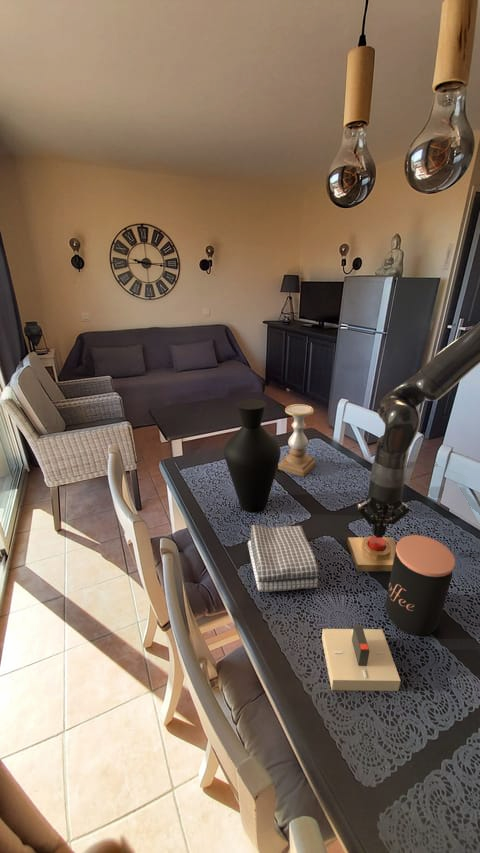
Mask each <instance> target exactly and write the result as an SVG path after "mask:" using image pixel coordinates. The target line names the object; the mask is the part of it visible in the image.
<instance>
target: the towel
mask: <svg viewBox="0 0 480 853" xmlns="http://www.w3.org/2000/svg"><path fill="white" fill-rule="evenodd" d="M250 531H251V532H250V540H248V541H247V549H248V551H249V557H250V562H251V567H252V571H253V577H254V581H255V584H256V587H257V590H258V592H267V593H268V592H282V591H293V590H299V589H300V590H302V589H304V590H305V589H317V588H318V587H319V586H318V582H319V579H318V578H319V577H320V570H319V565H318V561H317V558H316V556H315V554H314V550H313V548H312V546H311V544H310V542H309V541H308V538H307V536H306V533H305V531H304V530H303V526H302V525H286V526H277V527H266V526H264V525H259V524H252V525H251V526H250Z"/></svg>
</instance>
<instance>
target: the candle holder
mask: <svg viewBox="0 0 480 853" xmlns="http://www.w3.org/2000/svg"><path fill="white" fill-rule="evenodd" d="M314 411H315V409H314V407H312V406H311V405H309V404H302V403H295V404H290V405H288V406H285V408H284V412H285V413H286V414H287V415H289V416H291V417H292V418H293V422H292V423H291V427H292V429H293V433H292V434H291V435H290V436H289V438H288V441H287V443H288V446H289V447H290V448H289V453H288V454H287V455H286V456H284V457H283V459H281V461H280V462H279V463H278V466H277V470H280V471H282V472H286V473H289V474H292V475H296V476H299V477H302V478H304V477H306V475H308V474H309V472H310V471H312V470H313V468H314V467H315V466H316V464H317V460H315V458H314V457H313V456H311V455H308V454H306V453H307V450H306V448H307V447H308V445H309V440H308V437H307V436H306V435H305V433H304V431H305V430H304V429H305V428H306V427H307V423H305V419H306V417H308V416H311V415H313V414H314Z"/></svg>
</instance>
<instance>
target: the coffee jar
mask: <svg viewBox="0 0 480 853" xmlns="http://www.w3.org/2000/svg"><path fill="white" fill-rule="evenodd" d="M455 567H456V559H455V556H454V554H453V552H452V551H451V550H450V549H449V548H448V547H447V546H446V545H445V544H443V543H441V542H440V541H438V540H436V539H434V538H431V537H428V536H424V535H418V534H411V535H405V536H403V537H401V538H400V539H399V540H398V541H397V542H396V552H395V556H394V561H393V566H392V571H390V578H389V583H388V588H387V593H386V597H385V603H384V606H385V612H386V614H387V616H388V618H389V620H390V621H391V622H392V623H393V625H395V627H397V629H399V630H401V631H402V632H404V633H405V634H409V635H411V636H416V637H421V636H429V635H430V634H432V633H433V632H435V631H436V630H437V628H438V627H439V625H440V621H441V617H442V614H443V610H444V606H445V604H446V599H447V596H448V592H449V588H450V585H451V581H452V579H453V571H454V569H455Z"/></svg>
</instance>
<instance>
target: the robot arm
mask: <svg viewBox="0 0 480 853" xmlns="http://www.w3.org/2000/svg"><path fill="white" fill-rule="evenodd" d="M479 365H480V321H479V322H478V323H477V324H475V325H474V326H473V327H472V328H470V329H469V330H468V331H466V332H465V333H464V334H462V335H461V336H460V337H458V338H457V339H455V340H453V341H452V342H451V343H450V344H448V345H447V346H445V347H444V348H442V349H441V350H440V351H439V352H437V353H436V355H434V356H433V357H432V358H431V359H430V360H429V361H428V362H427V363H426V364H425V365H423V367H421V369H419V371H417V373H416V374H414V375H413V376H412V377H410V378H408V379H407V380H405V381H403V382H402V383H401V384H399V385H398V386H396V387H395V388H393V389H392V390H390V391H389V392H388V393H386V395H384V397H383V398H382V399H381V400H380V402H379V404H378V406H377V414H378V416H379V419H381V421H382V422H383V423H384V432H383V434H382V435H381V436H380V437H379V438H378V439H377V442H376V445H375V450H374V458H373V462H372V465H371V470H370V476H369V485H368V490H367V491H368V494H367V495H366V497H365V499H364V501H363V502H356V504H355V506H356V508H357V511H358V513H359V514H360V515H361V516H362V517H363V518H364V520H365V521H366V522H367V523H368V524H369V525H371V526H372V528H371V531H372V534H373V536H376V538H382V537H384V536H385V535H386V531H387V527H388V525H391V526H394V525H395V524H396V523H398V522H399V521H400V520H401V519H402V518H404V517H405V516H406V515H407V514H409V512H410V511H411V509H410V508H409V506H408V505H407V503H406V502H405V501H404V502H403V499H402V498H403V493H404V488H405V487H404V486H405V483H406V482H405V481H406V479H407V466H408V459H409V454H410V448H411V446H412V445H413V443H414V440H415V439H416V437H417V434H418V432H419V430H420V426H421V413H420V410H419V409H418V406H420V405H421V404H422V403H424V402H426V401H429V402H436V401H438V400H440V399H441V398H442V397H444V396H445V395H447V394H448V392H450V391H451V390H452V389H453V388H454V387H455V386H456V385H457V384H458V383H459V382H461V380H463V379H464V378H465V377H466V376H467V375H468V374H469V373H470V372H471V371H473V370H474V369H475V368H477V366H479ZM368 508H369V509H370V510H371V512H372V516H371V514H370V513H369V512H368V510H369V509H368Z"/></svg>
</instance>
